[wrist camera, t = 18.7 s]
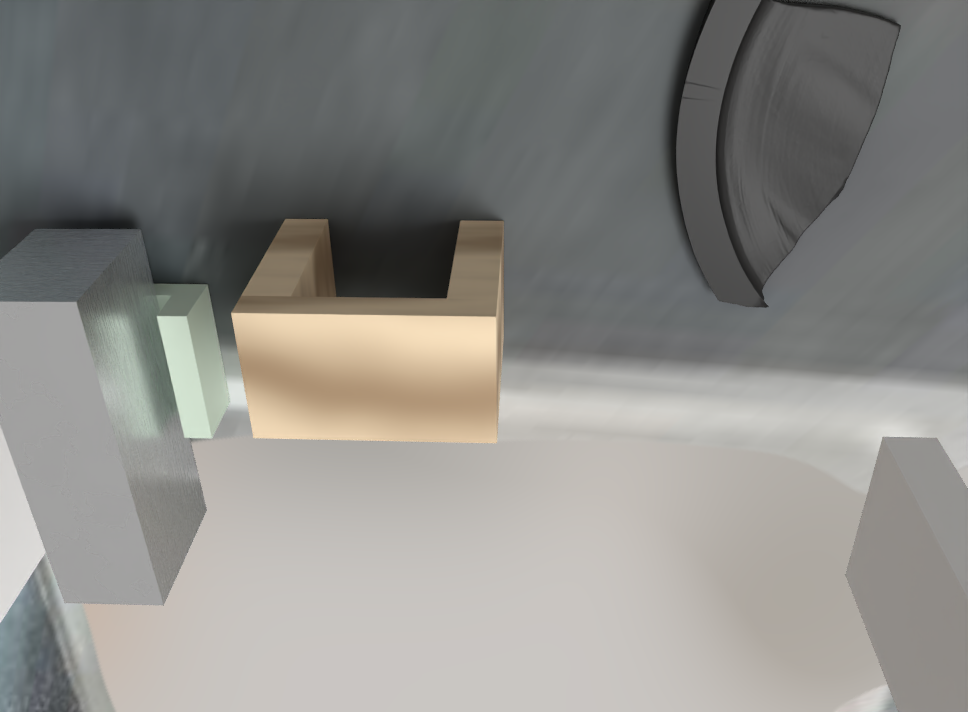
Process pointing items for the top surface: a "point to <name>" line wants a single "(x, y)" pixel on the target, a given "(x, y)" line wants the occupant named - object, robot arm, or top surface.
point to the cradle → (193, 356)
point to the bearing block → (372, 346)
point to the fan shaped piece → (772, 129)
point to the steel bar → (95, 415)
